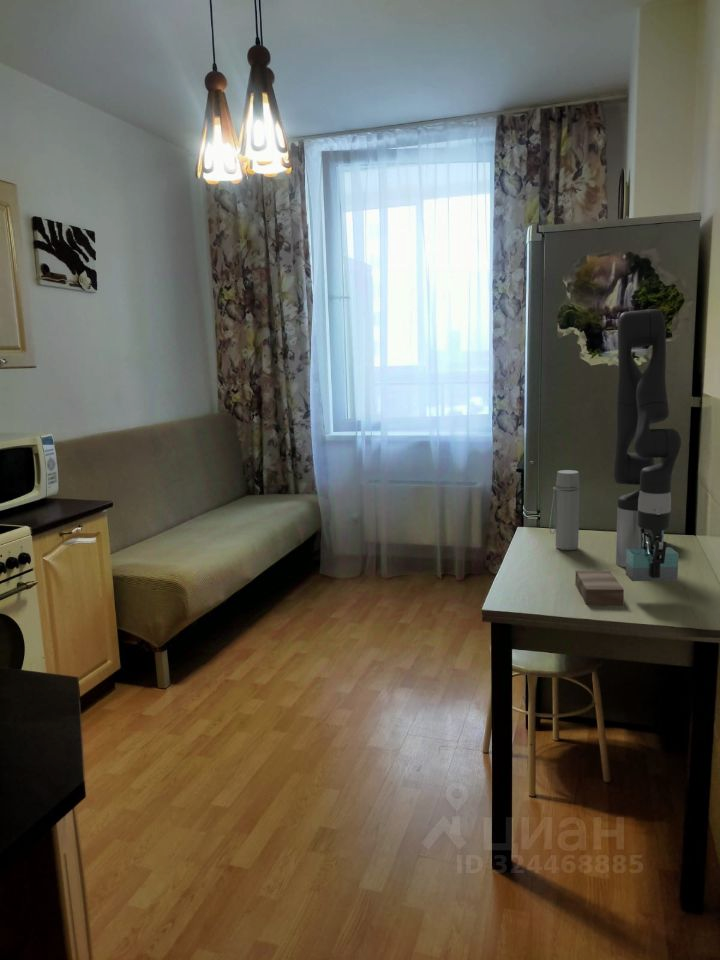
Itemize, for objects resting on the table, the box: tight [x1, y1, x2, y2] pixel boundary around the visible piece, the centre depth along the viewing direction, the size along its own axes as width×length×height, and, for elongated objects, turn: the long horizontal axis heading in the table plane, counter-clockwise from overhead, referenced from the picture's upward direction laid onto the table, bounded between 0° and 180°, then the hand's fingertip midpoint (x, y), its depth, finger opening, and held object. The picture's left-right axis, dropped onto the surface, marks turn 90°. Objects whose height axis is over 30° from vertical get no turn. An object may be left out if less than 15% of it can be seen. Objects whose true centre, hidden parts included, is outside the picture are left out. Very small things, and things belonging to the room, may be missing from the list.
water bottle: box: [548, 469, 581, 551], centre depth 218 cm, size 9×8×25 cm
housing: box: [625, 546, 680, 582], centre depth 172 cm, size 5×11×7 cm, turn 87°
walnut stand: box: [574, 570, 625, 606], centre depth 178 cm, size 15×9×4 cm, turn 172°
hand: (651, 573), depth 172 cm, fingers closed on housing, 5 cm apart
